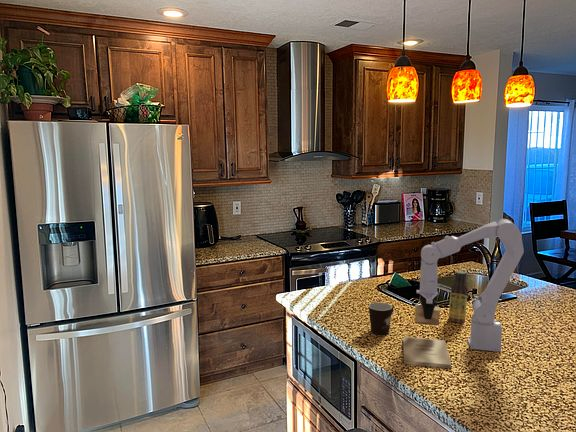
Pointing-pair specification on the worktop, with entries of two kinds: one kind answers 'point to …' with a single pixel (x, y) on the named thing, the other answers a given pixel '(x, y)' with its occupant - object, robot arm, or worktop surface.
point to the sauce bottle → (458, 298)
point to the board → (426, 352)
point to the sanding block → (421, 319)
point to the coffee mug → (380, 318)
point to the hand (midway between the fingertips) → (427, 316)
